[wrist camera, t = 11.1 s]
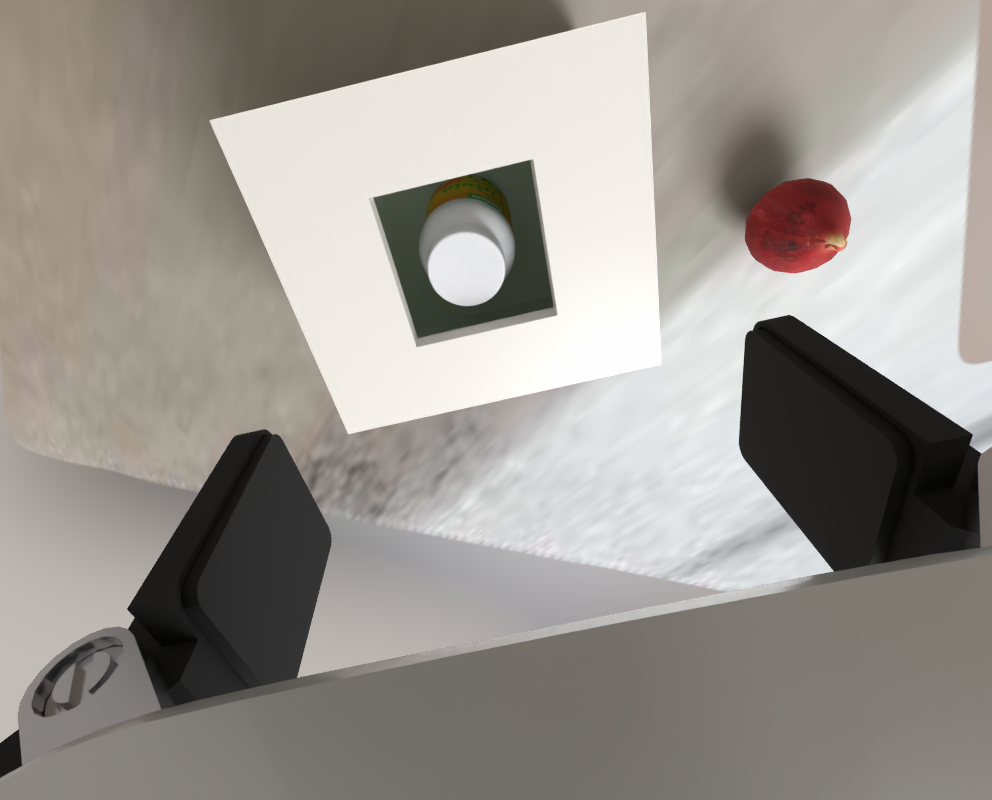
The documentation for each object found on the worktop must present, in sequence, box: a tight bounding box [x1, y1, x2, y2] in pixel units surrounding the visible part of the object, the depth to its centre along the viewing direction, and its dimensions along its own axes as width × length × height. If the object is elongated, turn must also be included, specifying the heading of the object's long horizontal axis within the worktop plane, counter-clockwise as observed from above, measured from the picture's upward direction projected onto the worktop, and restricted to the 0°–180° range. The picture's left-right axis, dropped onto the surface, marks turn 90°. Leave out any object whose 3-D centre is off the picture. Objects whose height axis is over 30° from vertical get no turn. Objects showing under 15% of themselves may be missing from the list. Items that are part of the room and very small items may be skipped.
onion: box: [745, 178, 851, 273], centre depth 33 cm, size 6×6×8 cm
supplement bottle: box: [419, 174, 515, 306], centre depth 30 cm, size 5×5×10 cm
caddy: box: [209, 12, 661, 434], centre depth 30 cm, size 16×18×12 cm
